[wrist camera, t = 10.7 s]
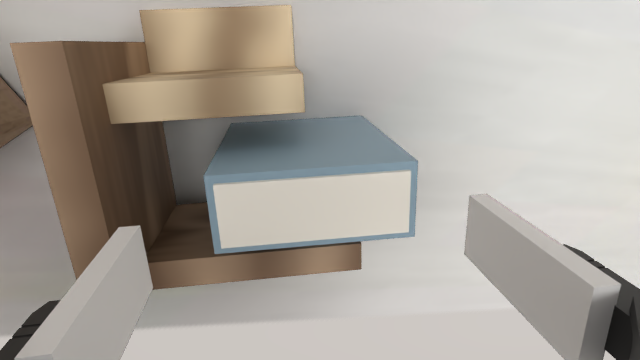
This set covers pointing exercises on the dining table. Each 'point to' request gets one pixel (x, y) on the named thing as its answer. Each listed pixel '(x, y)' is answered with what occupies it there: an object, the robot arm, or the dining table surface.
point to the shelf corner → (133, 174)
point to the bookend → (212, 66)
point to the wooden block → (12, 114)
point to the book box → (308, 185)
